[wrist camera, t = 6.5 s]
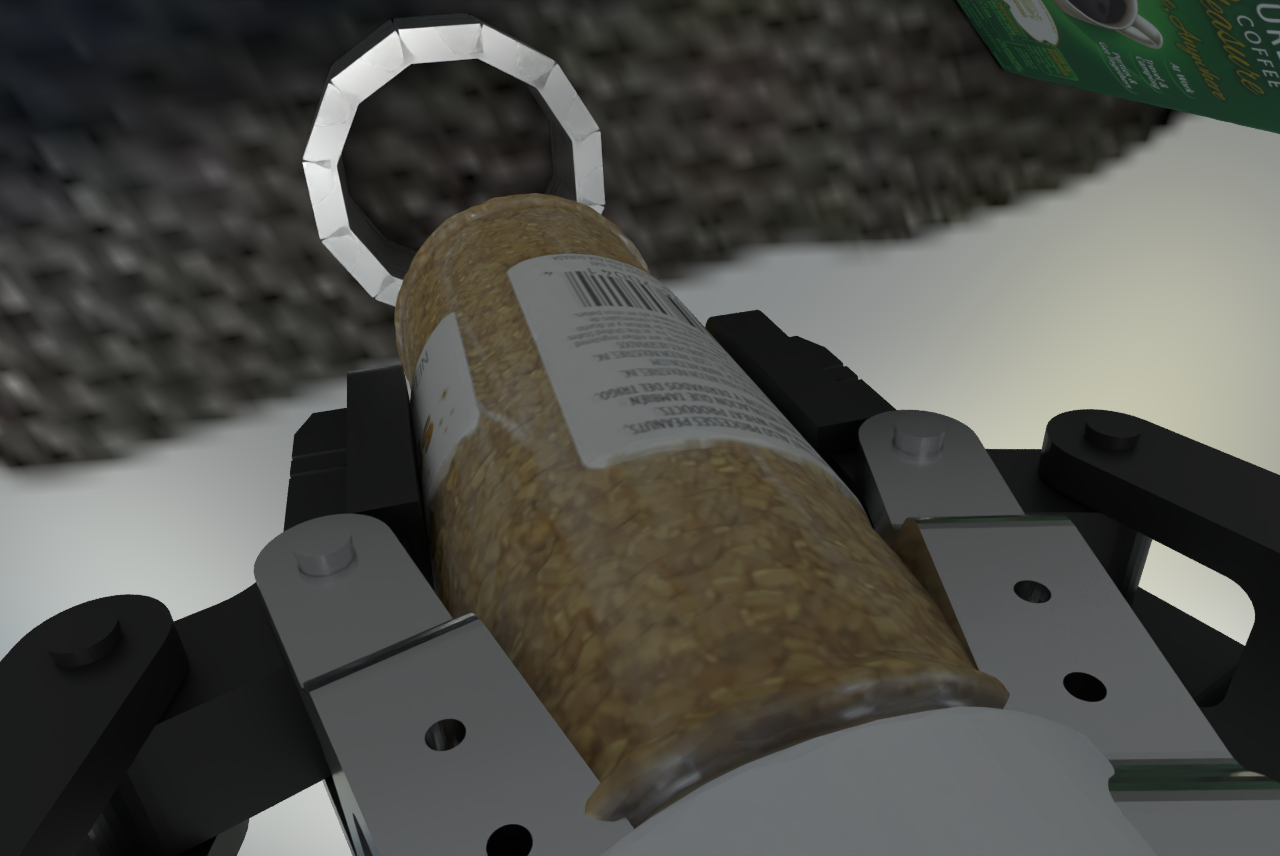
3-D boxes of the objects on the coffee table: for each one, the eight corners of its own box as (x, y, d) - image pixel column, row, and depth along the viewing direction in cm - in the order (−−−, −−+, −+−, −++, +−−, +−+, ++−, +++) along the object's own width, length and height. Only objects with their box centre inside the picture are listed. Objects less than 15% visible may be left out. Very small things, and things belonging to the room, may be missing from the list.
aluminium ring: (565, 5, 26) (592, 15, 23) (585, 263, 30) (611, 299, 27) (283, 25, 24) (274, 39, 21) (343, 296, 28) (343, 339, 25)
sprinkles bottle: (335, 326, 15) (275, 1641, 3) (528, 124, 14) (1252, 929, 3) (531, 475, 17) (877, 1539, 6) (704, 309, 16) (1480, 1145, 5)
